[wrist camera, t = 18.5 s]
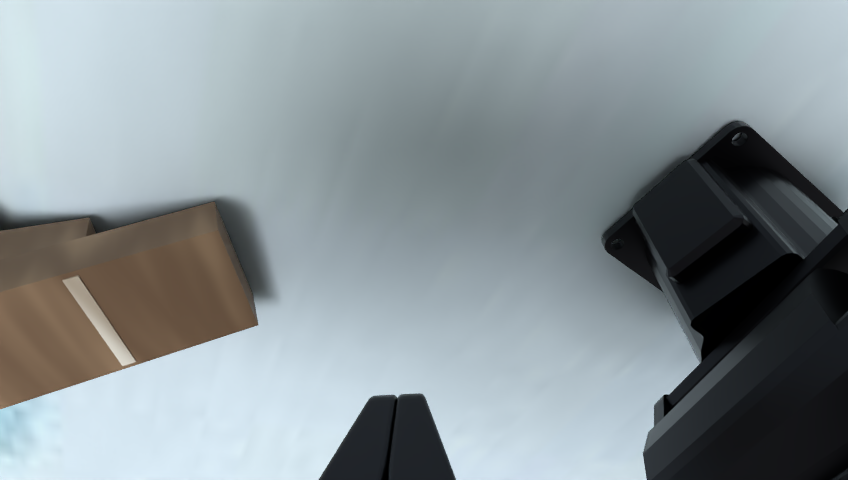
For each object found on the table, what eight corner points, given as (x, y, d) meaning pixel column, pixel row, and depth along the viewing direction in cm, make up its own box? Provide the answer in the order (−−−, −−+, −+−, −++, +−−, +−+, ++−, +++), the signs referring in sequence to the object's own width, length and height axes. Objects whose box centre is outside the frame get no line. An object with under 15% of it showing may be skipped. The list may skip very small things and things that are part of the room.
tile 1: (218, 230, 19) (-103, 322, 17) (258, 325, 23) (-9, 413, 20) (214, 200, 21) (-81, 281, 19) (252, 293, 24) (3, 371, 22)
